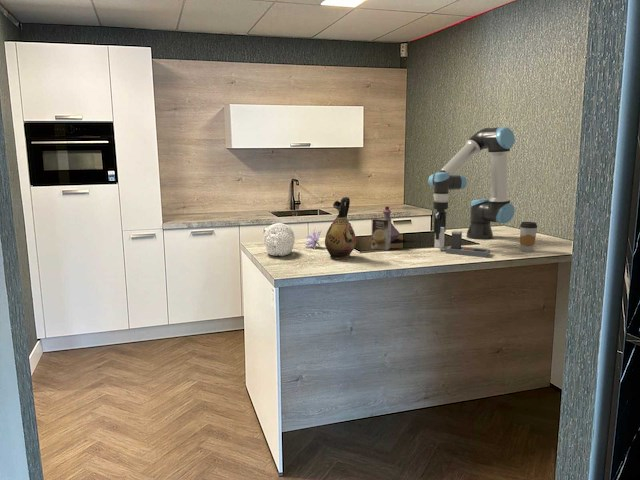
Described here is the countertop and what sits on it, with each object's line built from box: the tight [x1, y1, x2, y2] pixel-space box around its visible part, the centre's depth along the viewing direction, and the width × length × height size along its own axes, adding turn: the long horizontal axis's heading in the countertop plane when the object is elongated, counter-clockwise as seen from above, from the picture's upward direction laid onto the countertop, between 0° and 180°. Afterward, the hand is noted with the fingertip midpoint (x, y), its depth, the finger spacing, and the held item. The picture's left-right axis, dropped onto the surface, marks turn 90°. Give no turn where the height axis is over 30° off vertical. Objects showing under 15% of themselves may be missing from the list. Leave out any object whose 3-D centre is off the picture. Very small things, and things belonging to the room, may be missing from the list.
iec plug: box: [434, 227, 446, 249], centre depth 272 cm, size 4×4×11 cm
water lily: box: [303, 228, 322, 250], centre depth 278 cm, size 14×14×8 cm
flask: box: [382, 206, 401, 243], centre depth 295 cm, size 16×16×20 cm
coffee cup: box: [519, 221, 538, 253], centre depth 264 cm, size 8×8×15 cm
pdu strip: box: [439, 245, 491, 259], centre depth 257 cm, size 9×24×4 cm, turn 59°
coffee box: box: [371, 217, 392, 251], centre depth 272 cm, size 9×6×16 cm
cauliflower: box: [262, 222, 296, 257], centre depth 259 cm, size 20×18×16 cm
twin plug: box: [450, 230, 463, 249], centre depth 258 cm, size 4×4×11 cm
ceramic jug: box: [324, 196, 357, 260], centre depth 250 cm, size 17×15×30 cm
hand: (439, 244), depth 273 cm, fingers open, 5 cm apart
